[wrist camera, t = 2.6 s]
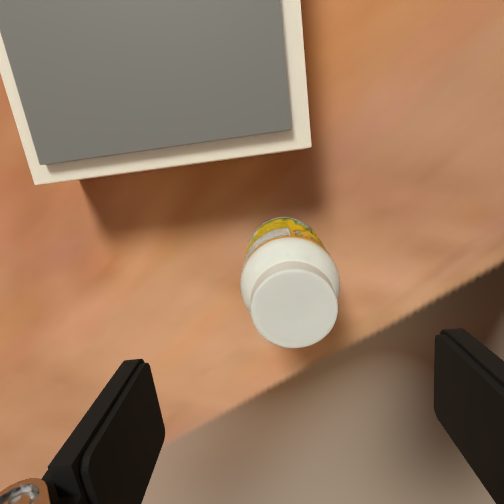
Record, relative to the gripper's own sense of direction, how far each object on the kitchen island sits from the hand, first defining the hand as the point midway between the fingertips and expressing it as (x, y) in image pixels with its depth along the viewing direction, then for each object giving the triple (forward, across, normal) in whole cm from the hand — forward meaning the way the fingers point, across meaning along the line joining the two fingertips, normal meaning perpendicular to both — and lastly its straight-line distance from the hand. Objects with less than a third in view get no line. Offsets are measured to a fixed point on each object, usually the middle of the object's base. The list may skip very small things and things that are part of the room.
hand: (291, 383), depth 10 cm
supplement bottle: (+14, -1, -1) cm, 14 cm away
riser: (+14, +5, -16) cm, 21 cm away
